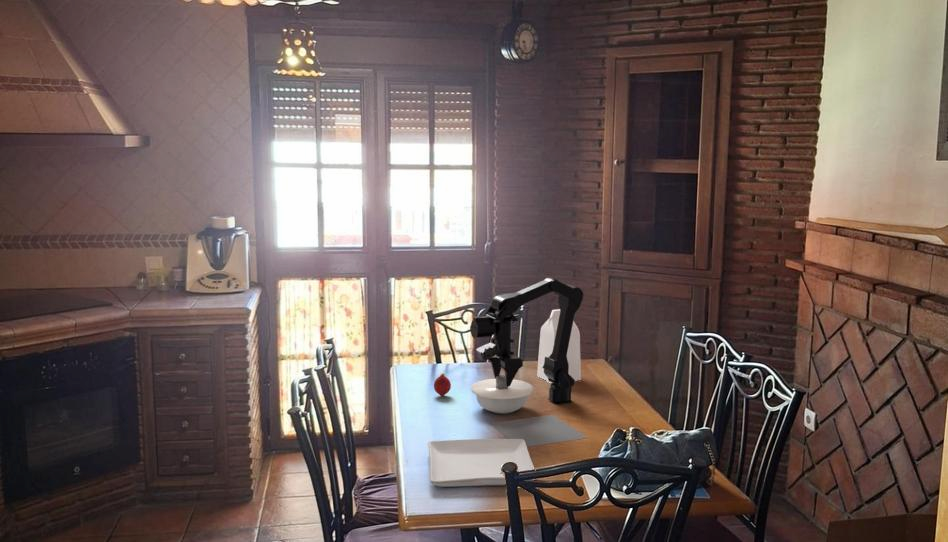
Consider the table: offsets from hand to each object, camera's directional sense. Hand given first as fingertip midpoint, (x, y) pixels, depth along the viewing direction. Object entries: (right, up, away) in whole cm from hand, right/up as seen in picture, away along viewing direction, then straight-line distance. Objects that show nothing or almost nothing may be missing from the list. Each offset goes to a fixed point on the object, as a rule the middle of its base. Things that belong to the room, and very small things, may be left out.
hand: (502, 382), depth 265 cm
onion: (-20, -7, +16) cm, 27 cm away
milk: (+22, -4, +37) cm, 43 cm away
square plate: (-7, -18, -46) cm, 50 cm away
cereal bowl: (0, -10, +1) cm, 10 cm away
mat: (+10, -12, -18) cm, 24 cm away
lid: (0, -2, 0) cm, 3 cm away
